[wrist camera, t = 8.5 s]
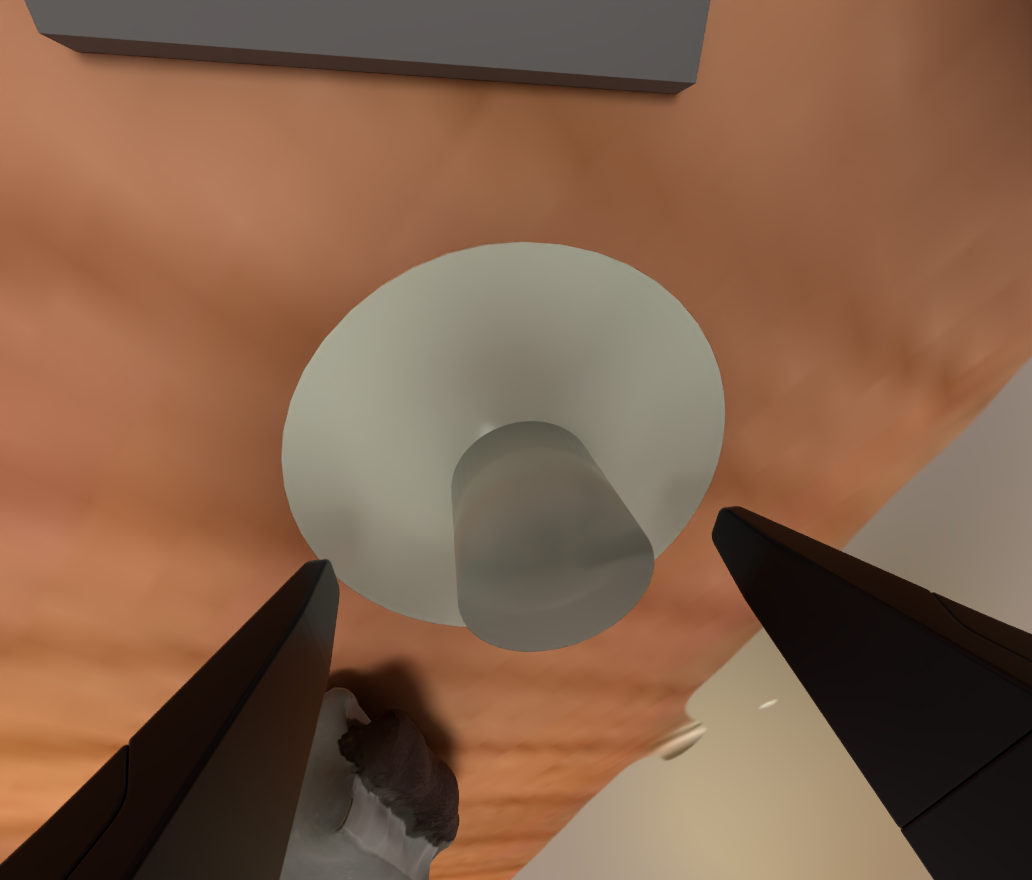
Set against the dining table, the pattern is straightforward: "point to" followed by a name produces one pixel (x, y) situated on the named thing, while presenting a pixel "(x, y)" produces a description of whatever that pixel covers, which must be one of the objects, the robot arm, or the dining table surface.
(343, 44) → the mat
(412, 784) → the rock
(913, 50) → the dining table surface
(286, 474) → the lid
